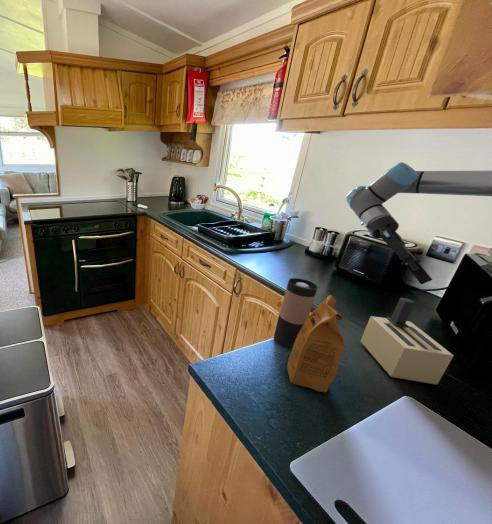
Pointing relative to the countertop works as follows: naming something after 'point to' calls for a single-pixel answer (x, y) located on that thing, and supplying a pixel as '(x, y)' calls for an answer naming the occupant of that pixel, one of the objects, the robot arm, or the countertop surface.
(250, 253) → the countertop surface
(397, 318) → the slide button
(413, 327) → the toaster
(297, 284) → the travel mug
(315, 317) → the coffee package
